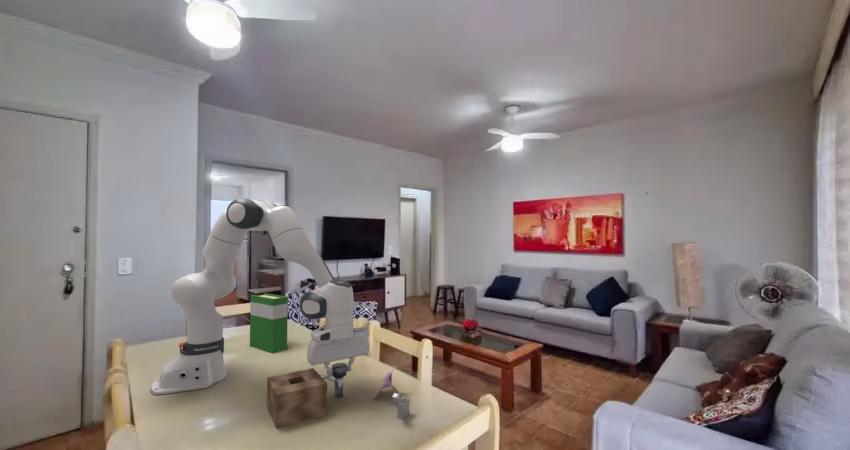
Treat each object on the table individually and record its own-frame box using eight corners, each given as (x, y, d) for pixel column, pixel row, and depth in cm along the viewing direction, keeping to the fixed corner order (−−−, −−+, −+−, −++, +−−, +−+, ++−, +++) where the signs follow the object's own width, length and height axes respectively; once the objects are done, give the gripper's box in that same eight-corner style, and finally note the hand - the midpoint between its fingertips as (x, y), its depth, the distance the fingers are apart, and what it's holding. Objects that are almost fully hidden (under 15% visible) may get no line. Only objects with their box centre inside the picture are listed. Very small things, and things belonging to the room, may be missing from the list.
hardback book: (249, 346, 166) (250, 295, 166) (264, 342, 172) (265, 293, 172) (272, 353, 156) (273, 299, 157) (287, 349, 162) (287, 296, 163)
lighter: (404, 411, 106) (404, 384, 106) (409, 413, 105) (409, 386, 105) (391, 423, 99) (391, 394, 100) (397, 424, 99) (397, 395, 99)
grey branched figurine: (326, 363, 141) (349, 373, 131) (326, 367, 141) (349, 377, 131) (303, 371, 134) (326, 382, 124) (303, 375, 134) (326, 386, 124)
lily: (392, 387, 125) (378, 364, 124) (417, 381, 119) (403, 357, 118) (373, 412, 115) (358, 387, 114) (399, 408, 109) (384, 381, 108)
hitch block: (276, 428, 97) (277, 394, 97) (266, 407, 108) (267, 377, 108) (327, 413, 104) (327, 383, 105) (312, 395, 116) (313, 368, 116)
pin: (334, 401, 112) (334, 369, 113) (329, 395, 116) (329, 364, 117) (348, 397, 115) (349, 366, 115) (343, 391, 119) (343, 361, 119)
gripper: (364, 323, 125) (364, 363, 124) (305, 332, 113) (305, 376, 113) (372, 327, 119) (372, 369, 119) (311, 337, 108) (311, 383, 108)
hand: (339, 372), depth 116 cm, fingers closed on pin, 5 cm apart
